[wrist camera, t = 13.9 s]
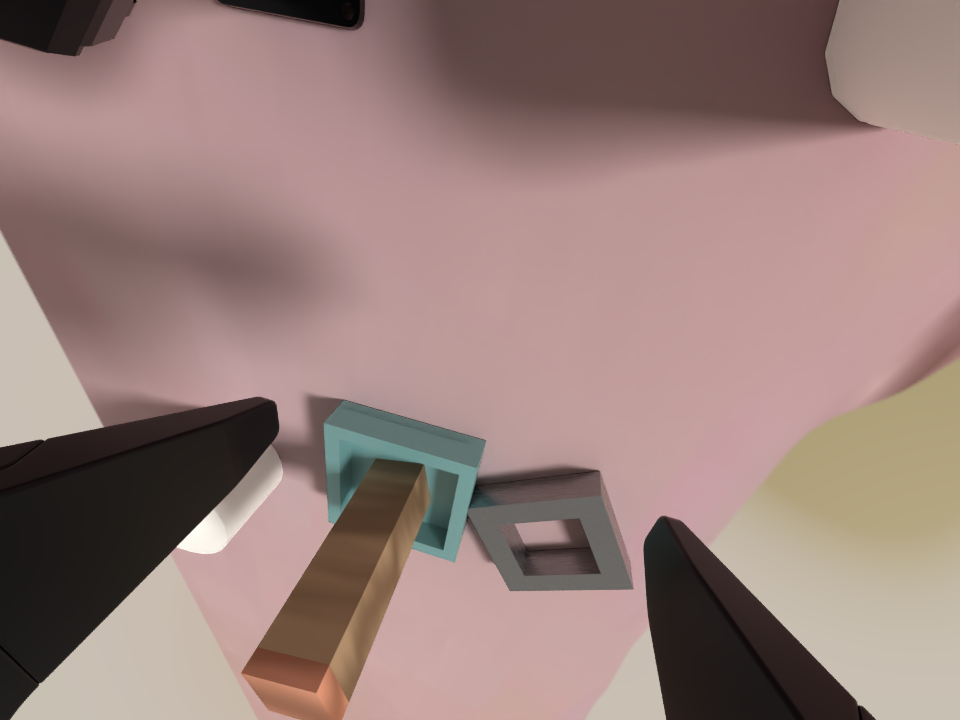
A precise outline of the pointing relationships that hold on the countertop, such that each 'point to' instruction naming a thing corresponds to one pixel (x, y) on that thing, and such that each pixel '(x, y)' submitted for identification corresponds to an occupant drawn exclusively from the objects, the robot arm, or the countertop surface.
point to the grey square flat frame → (546, 502)
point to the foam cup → (898, 64)
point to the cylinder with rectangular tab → (236, 506)
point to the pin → (341, 598)
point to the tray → (383, 435)
